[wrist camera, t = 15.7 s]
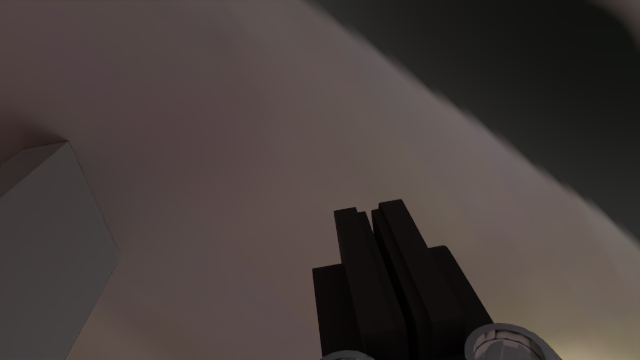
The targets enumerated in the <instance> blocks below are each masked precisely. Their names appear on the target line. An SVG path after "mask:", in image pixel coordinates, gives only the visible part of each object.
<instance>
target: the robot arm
mask: <svg viewBox="0 0 640 360" xmlns="http://www.w3.org/2000/svg"><path fill="white" fill-rule="evenodd" d="M371 214H372V224H373V231H372V228H371V226H370V223H369V220H368V217H367V215H366V212H365V211H364V212H358V213H357V210H356V207H353V208H347V209H341V210H336V211H334V217H335V224H336V230H337V236H338V243H339V249H340V256H341V262H342V263H341V264H336V265H330V266H325V267H319V268H313V269H312V272H313V281H314V290H315V298H316V306H317V315H318V323H319V332H320V340H321V349H322V358H321V359H320V360H562V359H561V358H560V357H559V355H558V354H557V353H556V352H555V351H554V350H553V349H552V348H551V347H550V346H549V345H548V344H547V343H546V342H545V341H544V340H543V339H542V338H540V337H539V336H538V335H537V334H535V333H533V332H531V331H529V330H528V329H526V328H524V327H520V326H517V325H513V324H507V323H494V322H493V321H492V319H491V318H490V316H489V314H488V313H487V311H486V309H485V308H484V306H483V304H482V303H481V301H480V299H479V298H478V296H477V295H476V293H475V291H474V290H473V288H472V286H471V285H470V283H469V281H468V280H467V278H466V277H465V275H464V273H463V272H462V270H461V268H460V267H459V265H458V263H457V262H456V260H455V259H454V257H453V255H452V254H451V252H450V250H449V249H448V248H447V247H446V246H444V245H443V246H437V247H431V248H428V247H427V245H426V243H425V241H424V240H423V238H422V236H421V234H420V232H419V230H418V228H417V227H416V225H415V223H414V221H413V219H412V217H411V215H410V214H409V212H408V210H407V208H406V206H405V204H404V202H403V201H402V199H398V200H393V201H387V202H381V203H379V209H375V210H372V211H371ZM373 233H374V234H373Z"/></svg>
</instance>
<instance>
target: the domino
mask: <svg viewBox="0 0 640 360" xmlns="http://www.w3.org/2000/svg"><path fill="white" fill-rule="evenodd" d="M119 258H120V254H119V252H118V249H117V247H116V245H115V243H114V240H113V238H112V236H111V234H110V232H109V229H108V227H107V225H106V223H105V220H104V218H103V216H102V214H101V212H100V209H99V207H98V205H97V203H96V200H95V198H94V196H93V194H92V192H91V189H90V187H89V185H88V183H87V180H86V178H85V176H84V174H83V172H82V169H81V167H80V165H79V163H78V160H77V158H76V156H75V154H74V152H73V149H72V147H71V145H70V143H69V141H66V142H60V143H55V144H49V145H43V146H38V147H32V148H27V149H23V150H21V151H20V152H18V153H17V154H16V155H14V156H13V157H12V158H10V159H9V160H7V161H6V162H5V163H3V164H2V165H0V360H65V359H66V357H67V355H68V353H69V351H70V350H71V348H72V346H73V344H74V342H75V340H76V338H77V336H78V335H79V333H80V331H81V329H82V327H83V325H84V323H85V322H86V320H87V318H88V316H89V314H90V312H91V310H92V309H93V307H94V305H95V303H96V301H97V299H98V297H99V295H100V294H101V292H102V290H103V288H104V286H105V284H106V282H107V281H108V279H109V277H110V275H111V273H112V271H113V269H114V268H115V266H116V264H117V262H118V260H119Z"/></svg>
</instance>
